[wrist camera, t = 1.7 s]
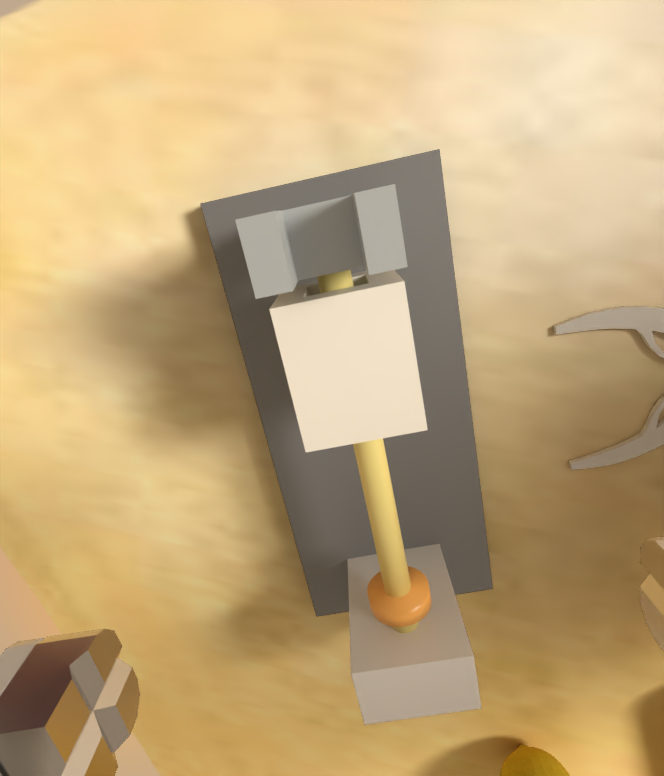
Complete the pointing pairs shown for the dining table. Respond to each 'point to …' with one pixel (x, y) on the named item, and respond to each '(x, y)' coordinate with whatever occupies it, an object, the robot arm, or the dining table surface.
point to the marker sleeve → (350, 361)
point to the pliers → (644, 324)
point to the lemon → (532, 763)
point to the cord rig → (376, 457)
